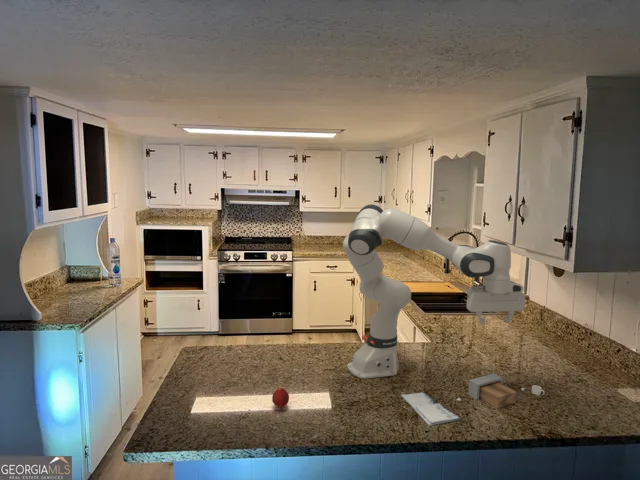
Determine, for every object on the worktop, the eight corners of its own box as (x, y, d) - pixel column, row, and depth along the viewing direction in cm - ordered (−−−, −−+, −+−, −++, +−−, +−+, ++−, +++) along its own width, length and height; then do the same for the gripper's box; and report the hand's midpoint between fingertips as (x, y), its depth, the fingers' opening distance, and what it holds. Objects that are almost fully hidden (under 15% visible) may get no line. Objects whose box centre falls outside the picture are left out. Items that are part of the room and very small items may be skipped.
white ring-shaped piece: (517, 393, 156) (517, 383, 155) (532, 389, 158) (533, 379, 158) (536, 404, 147) (537, 394, 147) (553, 400, 150) (553, 390, 150)
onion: (280, 401, 148) (280, 380, 147) (292, 407, 144) (292, 385, 143) (269, 408, 144) (268, 387, 143) (280, 414, 140) (280, 392, 139)
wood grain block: (497, 408, 141) (498, 397, 141) (471, 392, 152) (471, 382, 152) (515, 402, 145) (516, 392, 145) (488, 387, 156) (489, 377, 156)
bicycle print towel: (429, 427, 134) (429, 421, 133) (400, 397, 153) (400, 391, 153) (479, 418, 139) (479, 412, 139) (445, 390, 158) (445, 384, 158)
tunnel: (476, 400, 148) (477, 384, 147) (468, 395, 151) (469, 379, 150) (501, 393, 153) (502, 377, 152) (493, 388, 156) (494, 373, 156)
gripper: (471, 288, 144) (470, 326, 146) (528, 287, 145) (526, 324, 147) (464, 284, 150) (462, 320, 152) (518, 282, 151) (516, 318, 153)
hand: (494, 322), depth 150 cm, fingers open, 8 cm apart
